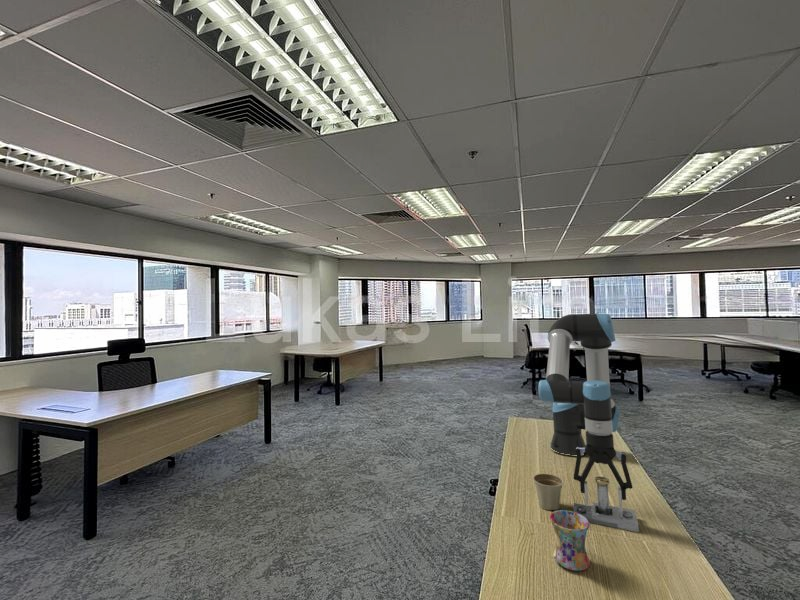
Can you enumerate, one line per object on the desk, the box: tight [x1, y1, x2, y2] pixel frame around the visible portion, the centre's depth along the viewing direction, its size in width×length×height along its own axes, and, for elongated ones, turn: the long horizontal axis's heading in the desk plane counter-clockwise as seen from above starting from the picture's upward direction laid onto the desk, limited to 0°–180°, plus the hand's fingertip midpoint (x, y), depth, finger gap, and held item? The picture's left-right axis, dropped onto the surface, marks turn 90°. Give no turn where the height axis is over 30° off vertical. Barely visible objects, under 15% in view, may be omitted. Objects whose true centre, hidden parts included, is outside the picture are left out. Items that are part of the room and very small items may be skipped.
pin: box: [594, 476, 610, 516], centre depth 111 cm, size 4×4×12 cm
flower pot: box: [532, 473, 564, 511], centre depth 120 cm, size 9×9×9 cm
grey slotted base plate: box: [572, 502, 640, 533], centre depth 111 cm, size 8×17×3 cm, turn 62°
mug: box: [549, 509, 591, 572], centre depth 94 cm, size 12×9×11 cm
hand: (603, 506), depth 112 cm, fingers open, 8 cm apart
